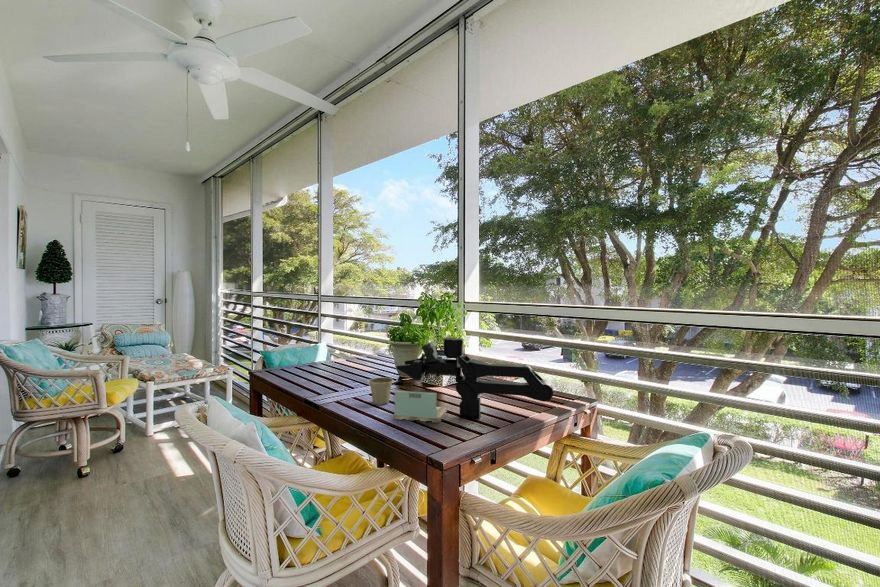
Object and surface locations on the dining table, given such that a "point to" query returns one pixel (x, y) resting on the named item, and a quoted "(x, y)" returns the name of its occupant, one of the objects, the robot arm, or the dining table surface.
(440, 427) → the dining table surface
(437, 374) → the robot arm
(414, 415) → the panel
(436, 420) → the beige flat block
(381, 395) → the flower pot
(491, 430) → the dining table surface
